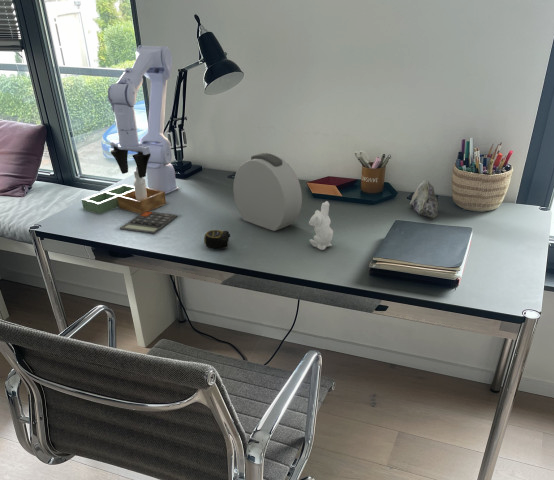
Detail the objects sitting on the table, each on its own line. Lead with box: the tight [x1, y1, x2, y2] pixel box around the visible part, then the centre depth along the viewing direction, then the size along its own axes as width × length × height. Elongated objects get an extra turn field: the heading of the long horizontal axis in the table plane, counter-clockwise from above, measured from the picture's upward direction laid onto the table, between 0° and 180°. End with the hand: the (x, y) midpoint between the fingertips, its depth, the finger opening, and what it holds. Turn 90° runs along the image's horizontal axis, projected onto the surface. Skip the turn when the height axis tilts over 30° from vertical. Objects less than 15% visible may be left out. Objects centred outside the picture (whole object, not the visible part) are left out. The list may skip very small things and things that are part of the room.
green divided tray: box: [81, 183, 135, 215], centre depth 183 cm, size 18×8×3 cm, turn 147°
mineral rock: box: [409, 179, 439, 219], centre depth 173 cm, size 13×11×10 cm
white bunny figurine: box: [308, 200, 334, 251], centre depth 152 cm, size 8×7×12 cm
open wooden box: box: [117, 186, 167, 215], centre depth 181 cm, size 11×10×4 cm
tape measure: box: [203, 229, 231, 250], centre depth 155 cm, size 7×7×4 cm
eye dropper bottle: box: [133, 165, 148, 201], centre depth 178 cm, size 4×6×12 cm
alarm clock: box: [232, 152, 303, 232], centre depth 165 cm, size 21×8×20 cm, turn 47°
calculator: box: [119, 211, 179, 235], centre depth 171 cm, size 12×1×15 cm
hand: (133, 175), depth 175 cm, fingers open, 7 cm apart
